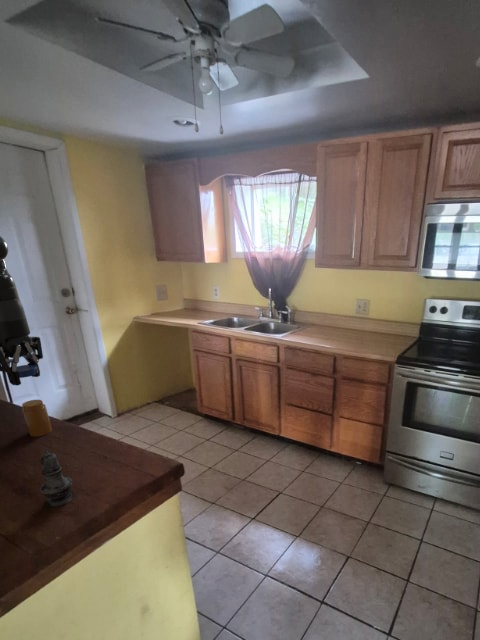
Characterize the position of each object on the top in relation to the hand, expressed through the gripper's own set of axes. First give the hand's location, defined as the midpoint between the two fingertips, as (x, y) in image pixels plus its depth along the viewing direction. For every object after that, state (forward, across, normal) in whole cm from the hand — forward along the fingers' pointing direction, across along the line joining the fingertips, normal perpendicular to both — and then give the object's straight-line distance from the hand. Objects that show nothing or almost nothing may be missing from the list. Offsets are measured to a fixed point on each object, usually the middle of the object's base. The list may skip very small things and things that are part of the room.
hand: (26, 380), depth 99 cm
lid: (-3, 0, 0) cm, 3 cm away
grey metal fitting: (+17, -25, -25) cm, 39 cm away
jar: (+17, -1, 0) cm, 17 cm away
